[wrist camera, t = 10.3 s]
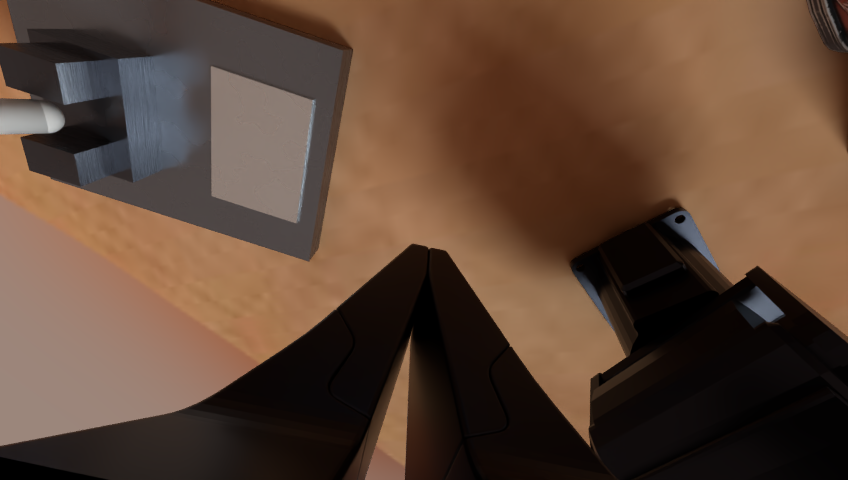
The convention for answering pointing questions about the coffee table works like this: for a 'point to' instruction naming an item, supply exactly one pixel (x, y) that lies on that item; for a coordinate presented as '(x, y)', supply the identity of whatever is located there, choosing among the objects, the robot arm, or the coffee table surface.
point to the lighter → (831, 22)
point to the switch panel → (185, 111)
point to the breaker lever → (29, 116)
